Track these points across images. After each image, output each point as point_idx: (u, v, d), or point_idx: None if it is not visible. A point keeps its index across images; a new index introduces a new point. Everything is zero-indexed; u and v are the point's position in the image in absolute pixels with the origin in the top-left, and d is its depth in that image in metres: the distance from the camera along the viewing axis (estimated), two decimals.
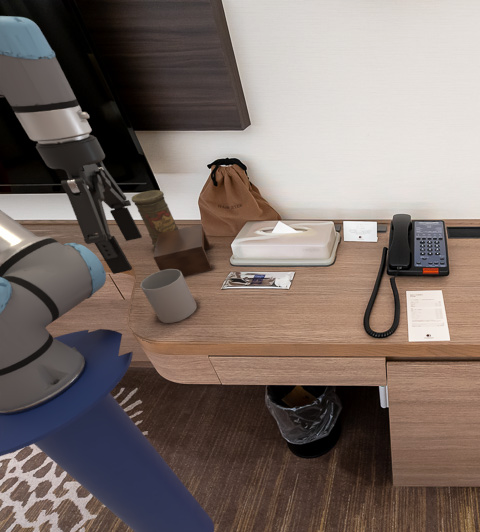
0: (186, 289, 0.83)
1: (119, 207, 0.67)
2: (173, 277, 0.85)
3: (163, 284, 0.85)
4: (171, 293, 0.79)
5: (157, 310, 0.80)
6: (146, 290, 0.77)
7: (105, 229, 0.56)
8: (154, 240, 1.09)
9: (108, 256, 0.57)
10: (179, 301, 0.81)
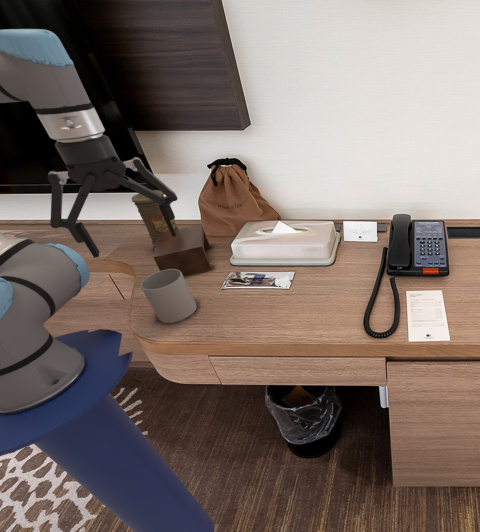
0: (186, 289, 0.83)
1: (162, 204, 0.70)
2: (173, 277, 0.85)
3: (163, 284, 0.85)
4: (171, 293, 0.79)
5: (157, 310, 0.80)
6: (146, 290, 0.77)
7: (67, 219, 0.62)
8: (154, 240, 1.09)
9: None
10: (179, 301, 0.81)
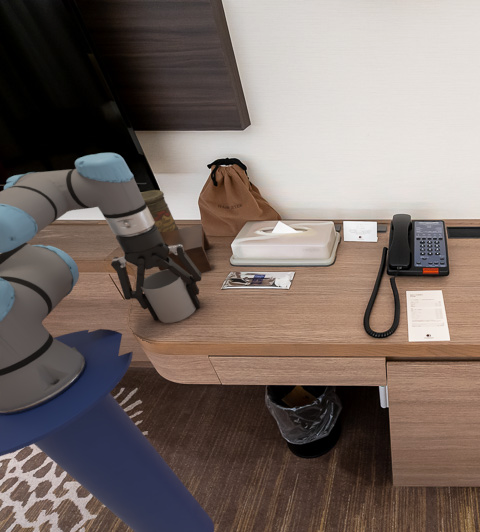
0: (186, 289, 0.83)
1: None
2: (173, 277, 0.85)
3: (163, 284, 0.85)
4: (171, 293, 0.79)
5: (157, 310, 0.80)
6: (146, 290, 0.77)
7: (135, 293, 0.78)
8: None
9: None
10: (179, 301, 0.81)
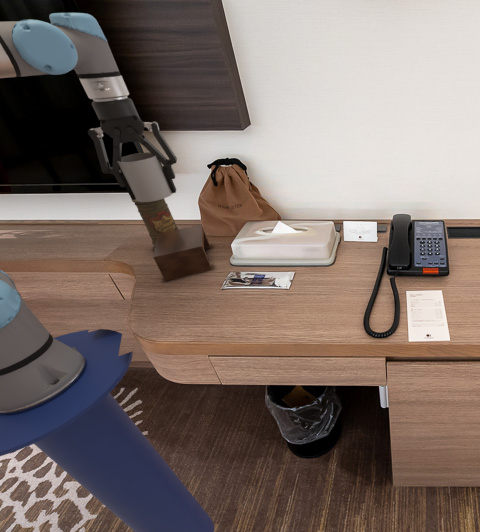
0: (162, 170, 0.86)
1: None
2: None
3: None
4: (146, 169, 0.83)
5: (133, 187, 0.84)
6: (122, 163, 0.81)
7: (112, 168, 0.82)
8: (154, 240, 1.09)
9: None
10: (155, 180, 0.85)
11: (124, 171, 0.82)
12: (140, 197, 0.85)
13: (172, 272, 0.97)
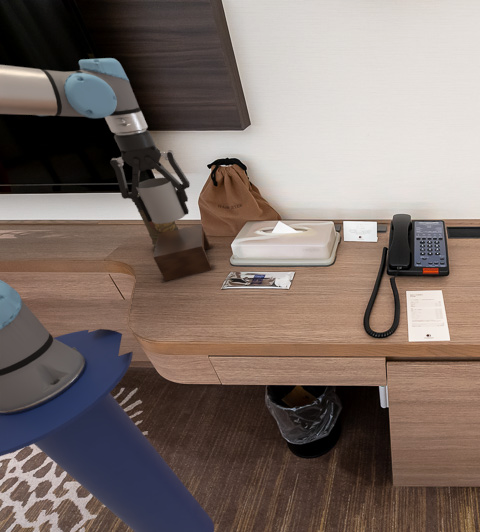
0: (176, 194, 0.94)
1: None
2: None
3: None
4: (163, 194, 0.90)
5: (150, 210, 0.91)
6: (140, 189, 0.88)
7: (131, 193, 0.89)
8: (154, 240, 1.09)
9: None
10: (170, 203, 0.92)
11: (142, 196, 0.89)
12: (156, 219, 0.93)
13: (172, 272, 0.97)
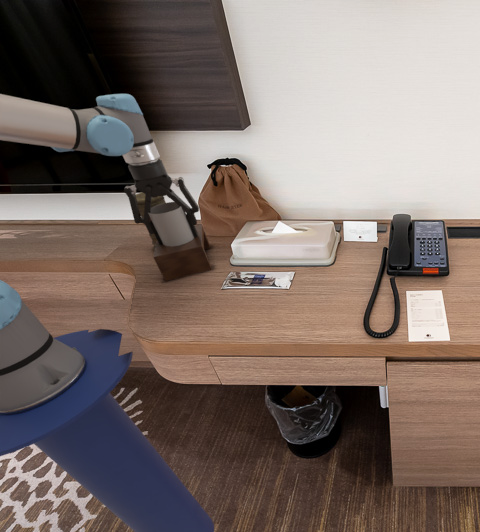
0: (186, 218, 0.98)
1: None
2: (174, 209, 1.00)
3: None
4: (173, 219, 0.94)
5: (161, 234, 0.95)
6: (152, 215, 0.92)
7: (143, 218, 0.93)
8: (154, 240, 1.09)
9: None
10: (180, 227, 0.96)
11: (154, 221, 0.93)
12: (167, 242, 0.97)
13: (172, 272, 0.97)
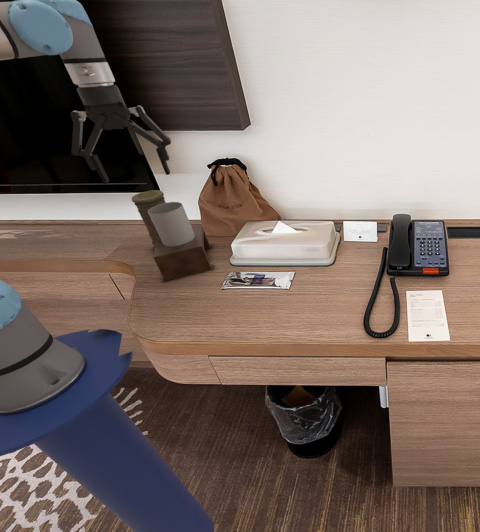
0: (186, 218, 0.98)
1: None
2: (174, 209, 1.00)
3: None
4: (173, 219, 0.94)
5: (162, 234, 0.95)
6: (153, 215, 0.92)
7: (84, 149, 0.80)
8: (154, 240, 1.09)
9: None
10: (180, 227, 0.96)
11: (154, 221, 0.93)
12: (167, 242, 0.97)
13: (172, 272, 0.97)
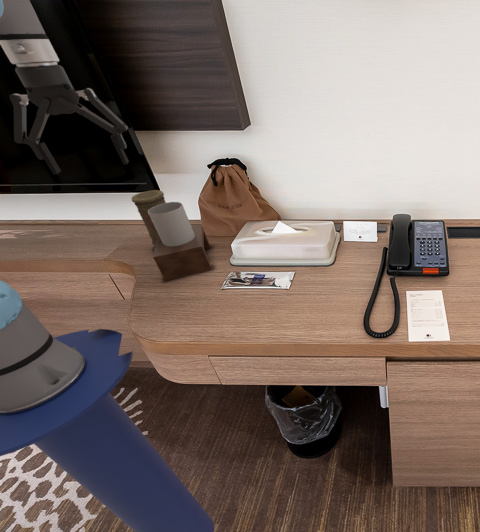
0: (186, 218, 0.98)
1: None
2: (175, 209, 1.00)
3: None
4: (173, 219, 0.94)
5: (162, 234, 0.95)
6: (153, 215, 0.92)
7: (28, 137, 0.74)
8: (154, 240, 1.09)
9: None
10: (180, 227, 0.96)
11: (154, 221, 0.93)
12: (167, 242, 0.97)
13: (172, 272, 0.97)
